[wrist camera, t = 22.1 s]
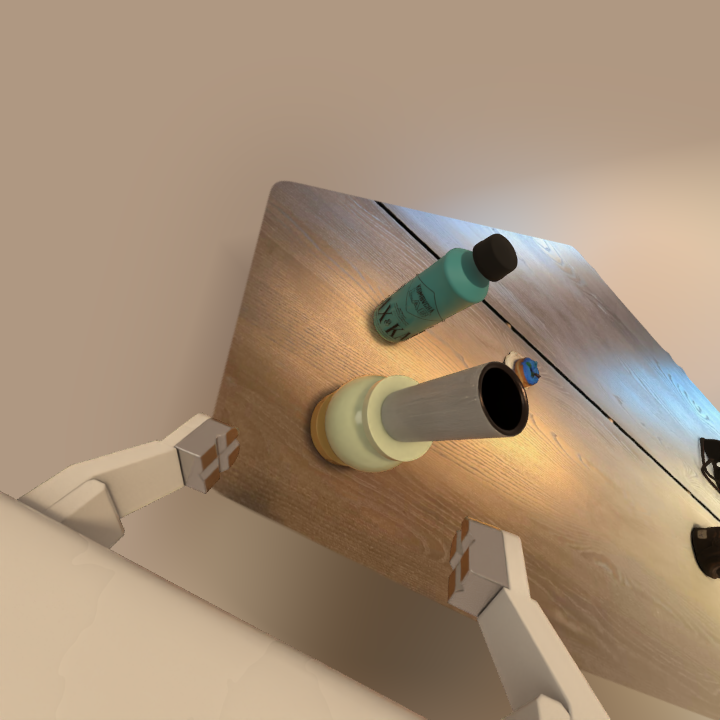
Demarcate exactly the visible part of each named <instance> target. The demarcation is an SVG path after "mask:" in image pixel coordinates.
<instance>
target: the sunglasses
mask: <svg viewBox="0 0 720 720" xmlns="http://www.w3.org/2000/svg"><path fill="white" fill-rule="evenodd" d="M700 446H701V457H702V464H703V466H702V468H701V471H702V473H703V475H704V476H705V478H706V479H707V480H708V481H709V482H710V483H711V485H712V486H713V487H714V488H715V489H716V490H717V491H718V492H719V493H720V467H718V466H717V464H716V463H718V462H720V441H719V440H715V439H705V438H700ZM704 450H705V452H706V454H707V456H708V458H709V459H708V461H707V462H706V463H705V457H704ZM710 463H712V465H713V469H714V477H715V478H714V477H713V476H712V475H710V474H709V473H708V471H707V468H706V466H708V465H709V464H710ZM706 474H707V475H708V476H709V477H711V478H712V479H713V480H715V481H716V484H717V486H718V487H717V486H716V485H715V484H714V483H713V482H712V481H711V480H710V479H709V478H708V476H707V475H706Z"/></svg>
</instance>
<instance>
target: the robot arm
mask: <svg viewBox="0 0 720 720" xmlns="http://www.w3.org/2000/svg"><path fill="white" fill-rule="evenodd" d="M238 436H239V430H238V428H236V427H234V426H232V425H229V424H227V423H225V422H222V421H220V420H218V419H215V418H213V417H210V416H208V415H205V414H203V413H200V414H196V415H195V416H193V417H192V418H191V419H190V420H188V421H187V422H185V423H184V424H183V425H181V426H180V427H179V428H177V429H176V430H175V431H173V432H172V433H171V434H169V435H168V436H167V437H165V438H164V439H163V440H161V441H158V440H156V441H152V442H149V443H145V444H142V445H138V446H135V447H131V448H128V449H125V450H121V451H118V452H114V453H111V454H108V455H104V456H101V457H97V458H94V459H91V460H87V461H84V462H80V463H77V464H73V465H71V466H69V467H67V468H65V469H64V470H62V471H61V472H59V473H58V474H56V475H55V476H53V477H51V478H50V479H49V480H47V481H45V482H44V483H42V484H41V485H39V486H37V487H36V488H34V489H33V490H31V491H30V492H28V493H27V494H25V495H23V496H22V497H20V498H19V499H17V500H16V499H14V498H12V497H11V496H9V495H7V494H5V493H3V492H1V491H0V720H428V719H426V718H425V717H423V716H421V715H419V714H417V713H415V712H413V711H411V710H409V709H407V708H406V707H404V706H402V705H400V704H398V703H396V702H395V701H393V700H391V699H389V698H387V697H385V696H383V695H381V694H379V693H378V692H376V691H374V690H372V689H370V688H368V687H366V686H365V685H362V684H361V683H359V682H357V681H355V680H353V679H351V678H350V677H348V676H346V675H344V674H342V673H340V672H338V671H337V670H335V669H333V668H331V667H329V666H327V665H325V664H323V663H321V662H320V661H318V660H316V659H314V658H312V657H310V656H308V655H306V654H305V653H303V652H301V651H299V650H297V649H295V648H293V647H292V646H290V645H288V644H286V643H284V642H282V641H280V640H278V639H276V638H275V637H273V636H271V635H269V634H267V633H265V632H263V631H262V630H259V629H258V628H256V627H254V626H252V625H250V624H248V623H247V622H245V621H243V620H241V619H239V618H237V617H235V616H233V615H231V614H230V613H228V612H226V611H224V610H222V609H220V608H218V607H217V606H215V605H213V604H211V603H209V602H207V601H205V600H203V599H202V598H200V597H198V596H196V595H194V594H192V593H190V592H189V591H187V590H185V589H183V588H181V587H179V586H177V585H175V584H174V583H172V582H170V581H168V580H166V579H164V578H162V577H160V576H158V575H157V574H155V573H153V572H151V571H149V570H147V569H145V568H143V567H142V566H140V565H138V564H136V563H134V562H132V561H130V560H128V559H127V558H125V557H123V556H121V555H119V554H117V553H115V552H114V551H112V550H110V548H111V547H112V546H113V545H114V544H115V543H116V542H117V541H118V540H119V539H120V538H121V537H122V536H123V535H124V531H125V530H124V528H123V526H122V523H121V521H120V518H122V517H124V516H126V515H128V514H130V513H133V512H135V511H136V510H139V509H141V508H143V507H145V506H146V505H149V504H151V503H153V502H155V501H156V500H159V499H161V498H163V497H165V496H167V495H168V494H171V493H173V492H175V491H177V490H179V489H181V488H183V487H184V485H185V486H188V487H190V488H193V489H195V490H198V491H200V492H202V493H205V494H206V493H207V492H208V491H209V490H210V489H211V488H212V487H213V485H214V484H215V483H216V482H217V481H218V480H219V479H220V472H222V471H225V470H227V469H229V468H230V467H231V466H232V465H233V463H234V462H235V460H236V459H237V457H238V455H239V450H240V444H239V442H238V441H237V439H236V438H237V437H238ZM449 562H450V564H451V567H452V569H453V572H452V573H451V575H450V577H449V582H448V603H449V604H451V605H453V606H455V607H457V608H459V609H461V610H464V611H466V612H468V613H470V614H472V615H474V616H476V617H478V618H477V621H478V623H479V626H480V628H481V631H482V633H483V636H484V638H485V641H486V643H487V646H488V649H489V651H490V654H491V656H492V659H493V661H494V664H495V666H496V669H497V671H498V674H499V677H500V679H501V681H502V684H503V687H504V689H505V692H506V694H507V697H508V699H509V702H510V705H511V707H512V710H513V712H512V713H510V714H509V715H507V716H506V717H504V718H503V719H501V720H611V719H610V717H609V716H608V714H607V713H606V711H605V709H604V708H603V706H602V705H601V703H600V701H599V700H598V698H597V697H596V695H595V693H594V692H593V690H592V689H591V687H590V686H589V684H588V682H587V681H586V679H585V678H584V676H583V675H582V673H581V671H580V670H579V668H578V666H577V665H576V663H575V662H574V660H573V658H572V657H571V655H570V654H569V652H568V650H567V649H566V647H565V646H564V644H563V643H562V641H561V639H560V638H559V636H558V635H557V633H556V631H555V630H554V628H553V627H552V625H551V623H550V622H549V620H548V619H547V617H546V615H545V614H544V612H543V611H542V609H541V608H540V606H539V604H538V603H537V601H535V600H533V599H531V597H530V591H529V585H528V580H527V574H526V568H525V562H524V556H523V550H522V544H521V540H520V538H519V536H517V535H514V534H512V533H509V532H507V531H504V530H501V529H499V528H497V527H495V526H492V525H489V524H486V523H484V522H481V521H478V520H476V519H473V518H470V517H468V516H467V517H465V518H464V519H463V521H462V527H461V530H458V531H457V532H456V534H455V536H454V538H453V541H452V545H451V550H450V561H449Z"/></svg>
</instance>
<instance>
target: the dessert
mask: <svg viewBox="0 0 720 720" xmlns="http://www.w3.org/2000/svg"><path fill="white" fill-rule="evenodd" d="M505 365H507V366H508V367H510V368H511V369H512V370H513V371H514V372H515V373H516V374H517V376H518V377H519V379H520V380H521V382H522V384H523V386H524V389H525V390H527V389H528V388H529V387H530V386H532V385H534V384H536V383H537V381H538V379H539V377H541V376H540V375H539V371H538V368H537V361H533V360H531V359H530V358H524V357H523V356H521V355H520V354H519V353H517V352H514V351H511V353H510V354H509V355H507V356H506V359H505Z"/></svg>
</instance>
